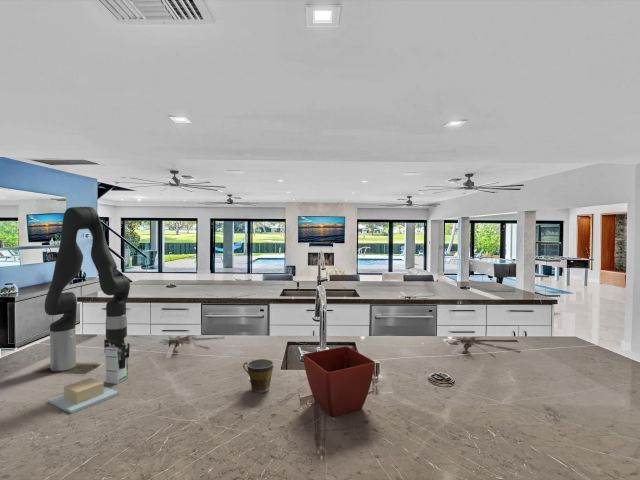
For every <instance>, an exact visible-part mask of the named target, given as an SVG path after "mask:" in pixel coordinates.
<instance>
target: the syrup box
mask: <svg viewBox="0 0 640 480" xmlns="http://www.w3.org/2000/svg"><path fill="white" fill-rule="evenodd" d="M118 351H119V352H121V351H122V349H119V348H118V347H116V348H115V347H113V346H109V347H106V348H105V349H104V355H105V360H104V361H105V383H108V384H114V385H115V384H116V385H118V384H120V383H121V382H124V381H126V380H128V379H129V361H128V360H129V359H128V358H126V359H125V368H123V369H119V357H118V354H117V352H118ZM121 356H122V354H121Z"/></svg>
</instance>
